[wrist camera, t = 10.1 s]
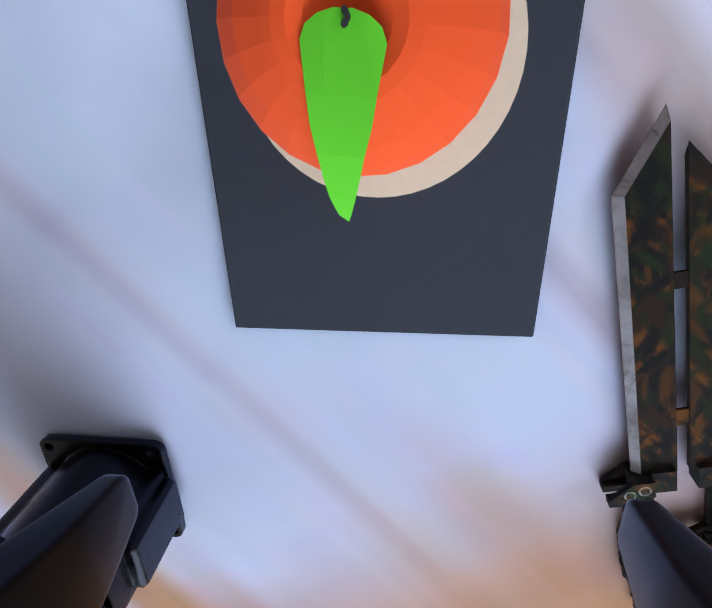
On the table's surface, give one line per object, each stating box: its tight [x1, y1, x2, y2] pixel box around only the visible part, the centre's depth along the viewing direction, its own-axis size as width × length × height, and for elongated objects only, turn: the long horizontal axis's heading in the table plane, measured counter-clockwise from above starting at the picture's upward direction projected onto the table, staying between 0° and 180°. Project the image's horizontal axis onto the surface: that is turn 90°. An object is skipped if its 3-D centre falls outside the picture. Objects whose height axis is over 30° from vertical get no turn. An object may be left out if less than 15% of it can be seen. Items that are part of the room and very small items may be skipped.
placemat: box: [186, 0, 585, 337], centre depth 16 cm, size 12×20×1 cm, turn 1°
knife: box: [599, 105, 712, 608], centre depth 20 cm, size 25×6×1 cm, turn 11°
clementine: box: [216, 0, 511, 221], centre depth 12 cm, size 8×7×7 cm
